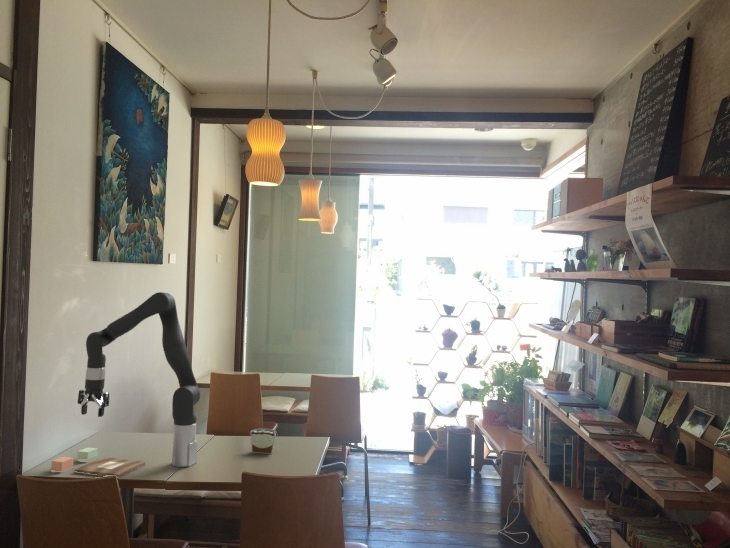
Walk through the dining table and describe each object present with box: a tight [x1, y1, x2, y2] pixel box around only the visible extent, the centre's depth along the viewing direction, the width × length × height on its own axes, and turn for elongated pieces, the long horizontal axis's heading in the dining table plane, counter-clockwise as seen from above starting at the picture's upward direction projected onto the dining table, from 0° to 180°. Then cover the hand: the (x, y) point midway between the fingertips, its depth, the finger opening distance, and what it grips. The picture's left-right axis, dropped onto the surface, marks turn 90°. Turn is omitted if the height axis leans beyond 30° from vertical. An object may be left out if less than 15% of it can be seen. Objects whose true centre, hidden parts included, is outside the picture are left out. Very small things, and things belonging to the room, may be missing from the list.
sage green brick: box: [76, 447, 99, 460], centre depth 227 cm, size 5×6×4 cm
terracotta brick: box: [50, 456, 74, 471], centre depth 214 cm, size 5×6×4 cm
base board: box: [73, 456, 146, 478], centre depth 217 cm, size 20×17×2 cm
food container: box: [249, 427, 277, 455], centre depth 249 cm, size 12×6×10 cm, turn 84°
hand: (92, 415), depth 228 cm, fingers open, 8 cm apart
